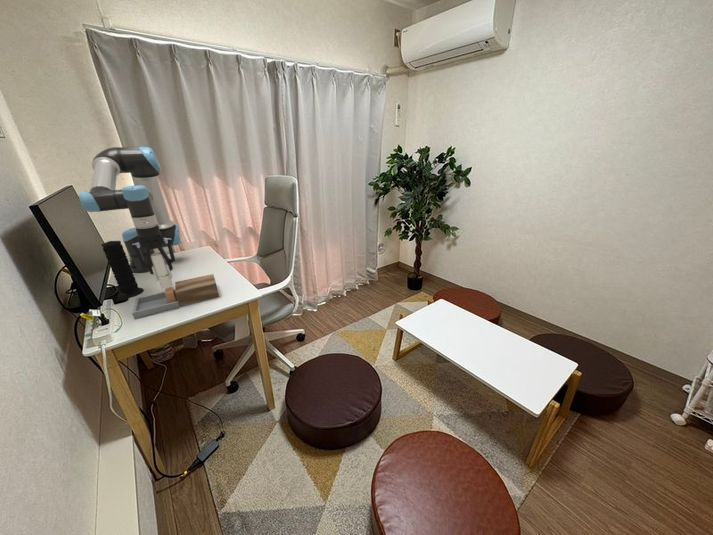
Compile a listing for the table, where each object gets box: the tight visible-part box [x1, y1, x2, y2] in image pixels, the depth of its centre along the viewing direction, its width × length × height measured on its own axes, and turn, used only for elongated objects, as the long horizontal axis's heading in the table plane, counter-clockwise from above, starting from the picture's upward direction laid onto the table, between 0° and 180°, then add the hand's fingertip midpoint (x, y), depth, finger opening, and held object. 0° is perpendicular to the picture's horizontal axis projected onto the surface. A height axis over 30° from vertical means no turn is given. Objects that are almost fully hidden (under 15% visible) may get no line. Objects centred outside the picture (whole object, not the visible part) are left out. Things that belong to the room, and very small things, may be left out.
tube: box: [151, 251, 174, 290], centre depth 117 cm, size 4×4×15 cm
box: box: [131, 291, 181, 320], centre depth 121 cm, size 14×16×3 cm
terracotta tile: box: [164, 285, 177, 303], centre depth 122 cm, size 6×6×3 cm
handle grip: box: [100, 240, 145, 300], centre depth 127 cm, size 10×26×10 cm
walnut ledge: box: [174, 273, 220, 308], centre depth 127 cm, size 12×16×7 cm
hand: (164, 278), depth 119 cm, fingers closed on tube, 4 cm apart
